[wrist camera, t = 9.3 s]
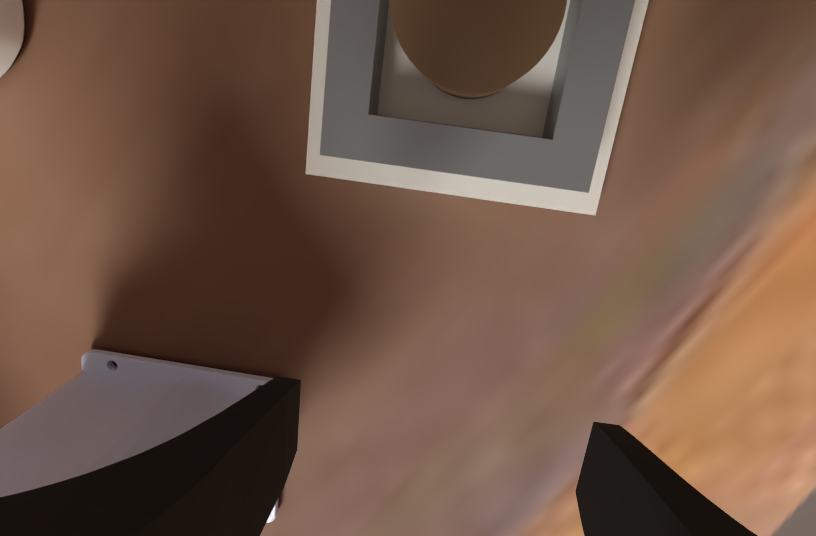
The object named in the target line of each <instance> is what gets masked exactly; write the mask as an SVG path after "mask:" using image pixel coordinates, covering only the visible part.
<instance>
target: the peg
mask: <svg viewBox="0 0 816 536" xmlns="http://www.w3.org/2000/svg"><path fill="white" fill-rule="evenodd" d="M566 5H567V0H390V8H391V18H392V22H393V26H394V30H395V33H396V36H397V39H398V41H399V43H400V45H401V47H402V49H403V51H404V53H405V54H406V55H407V57H408V58H409V60H410V61H411V62H412V63H413V65H414V66H415V67H416V68H417V69H418V70H419V71H420V72H421V73H422V74H423V75H424V76H425V77H427V78H428V79H429V80H430V81H431V82H432V83H433V84H434V85H435V86H436V87H438V88H439V89H440V90H442V91H443V92H445V93H447V94H449V95H451V96H454V97H458V98H463V99H479V98H484V97H488V96H490V95H493V94H495V93H497V92H499V91H501V90H502V89H504V88H506V87H507V86H509V85H510V84H512V83H513V82H515V81H516V80H518V79H519V78H521V77H522V76H523V75H525V74H526V73H528V72H529V71H530V70H531V69H532V68H533V67H534V66H535V65H536V64H538V63H539V61H540V60H541V59H542V58H543V57H544V55H545V54H546V53H547V51H548V50H549V48H550V47H551V45H552V44H553V42H554V40H555V38H556V36H557V34H558V32H559V30H560V27H561V24H562V21H563V18H564V14H565V10H566Z"/></svg>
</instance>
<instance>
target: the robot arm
mask: <svg viewBox="0 0 816 536" xmlns="http://www.w3.org/2000/svg"><path fill="white" fill-rule="evenodd" d="M112 361H114V362H115V363H116V364H117V366H118V367H117V366H115V365H114V364H113V362H112ZM81 362H82V373H80V374H79V375H77V376H76V377H74V378H73V379H71V380H70V381H69V382H67V383H66V384H64V385H63V386H61V387H60V388H58V389H57V390H55V391H54V392H53V393H51V394H50V395H48V396H47V397H45V398H44V399H42V400H41V401H40V402H38V403H37V404H35V405H34V406H32V407H31V408H29V409H28V410H26V411H25V412H24V413H22V414H21V415H19V416H18V417H16V418H15V419H13V420H12V421H11V422H9V423H8V424H6V425H5V426H3V427H2V428H0V536H260V534H261V532H262V530H263V528H264V526H265V524H266V522H272V521H273V520H274V519H275V517H276V515H277V512H278V498H279V496H280V494H281V492H282V490H283V488H284V485H285V482H286V480H287V477H288V474H289V472H290V469H291V466H292V463H293V460H294V457H295V454H296V451H297V441H298V422H299V403H300V384H301V380H297V379H290V378H283V377H275V378H270V377H264V376H257V375H251V374H245V373H239V372H233V371H227V370H220V369H214V368H208V367H202V366H196V365H190V364H183V363H177V362H171V361H165V360H159V359H153V358H147V357H140V356H134V355H128V354H122V353H116V352H110V351H103V350H97V349H91V350H89V351H88V352H86V353H84V354H83V356H82V359H81ZM259 385H262V386H261V387H259ZM576 496H577V501H578V507H579V512H580V517H581V522H582V527H583V531H584V535H585V536H757V535H756V534H754V533H753V532H751V531H750V530H748V529H747V528H745V527H744V526H743V525H741V524H740V523H739V522H737V521H736V520H734V519H733V518H732V517H730V516H729V515H728V514H727V513H725V512H724V511H723V510H721V509H720V508H719V507H718V506H716V505H715V504H714V503H712V502H711V501H710V500H708V499H707V498H706V497H705V496H703V495H702V494H701V493H700V492H698V491H697V490H696V489H695V488H694V487H692V486H691V485H690V484H689V483H687V482H686V481H685V480H684V479H683V478H682V477H680V476H679V475H678V474H677V473H676V472H674V471H673V470H672V469H671V468H670V467H669V466H667V465H666V464H665V463H664V462H663V461H662V460H660V459H659V458H658V457H657V456H656V455H655V454H654V453H652V452H651V451H650V450H649V449H648V448H647V447H645V446H644V445H643V444H642V443H641V442H640V441H638V440H637V439H636V438H635V437H634V436H632V435H631V434H630V433H629V432H628V431H626V430H625V429H624V428H622V427H621V426H619V425H613V424H606V423H599V422H593V426H592V430H591V434H590V438H589V442H588V446H587V449H586V453H585V457H584V461H583V465H582V469H581V473H580V476H579V480H578V484H577V488H576Z"/></svg>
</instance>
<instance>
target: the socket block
mask: <svg viewBox="0 0 816 536" xmlns="http://www.w3.org/2000/svg"><path fill="white" fill-rule="evenodd" d="M648 1H649V0H567V5H566V10H565V14H564V18H563V21H562V24H561V27H560V30H559V32H558V34H557V36H556V38H555V40H554V42H553V44H552V45H551V47H550V48H549V50H548V51H547V53H546V54H545V55H544V57H543V58H542V59H541V60H540V61H539V63H538V64H536V65H535V66H534V67H533V68H532V69H531V70H530V71H529V72H528V73H526V74H525V75H523V76H522V77H521V78H519V79H518V80H516V81H515V82H513V83H512V84H510V85H509V86H507V87H506V88H504V89H502V90H501V91H499V92H497V93H495V94H493V95H490V96H488V97H484V98H479V99H463V98H458V97H454V96H451V95H449V94H447V93H445V92H443V91H442V90H440V89H439V88H438V87H436V86H435V85H434V84H433V83H432V82H431V81H430V80H429V79H428V78H427V77H425V76H424V75H423V74H422V73H421V72H420V71H419V70H418V69H417V68H416V67H415V66H414V65H413V63H412V62H411V61H410V60H409V58H408V57H407V55H406V54H405V53H404V51H403V49H402V47H401V45H400V43H399V41H398V39H397V36H396V33H395V30H394V26H393V22H392V18H391V8H390V0H317V7H316V22H315V37H314V52H313V68H312V83H311V98H310V113H309V129H308V144H307V159H306V174H309V175H316V176H323V177H330V178H337V179H344V180H351V181H358V182H365V183H372V184H379V185H386V186H393V187H400V188H407V189H414V190H421V191H428V192H435V193H442V194H449V195H456V196H463V197H470V198H477V199H484V200H491V201H498V202H505V203H512V204H519V205H526V206H533V207H540V208H547V209H554V210H561V211H568V212H575V213H582V214H589V215H595V214H596V210H597V206H598V202H599V198H600V194H601V190H602V186H603V182H604V178H605V174H606V170H607V166H608V162H609V158H610V154H611V150H612V146H613V142H614V138H615V134H616V130H617V126H618V122H619V118H620V114H621V110H622V106H623V102H624V98H625V94H626V90H627V86H628V82H629V78H630V74H631V70H632V65H633V61H634V57H635V53H636V49H637V45H638V41H639V37H640V33H641V29H642V25H643V21H644V17H645V13H646V9H647V5H648Z"/></svg>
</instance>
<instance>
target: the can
mask: <svg viewBox="0 0 816 536" xmlns="http://www.w3.org/2000/svg"><path fill="white" fill-rule="evenodd" d="M24 35H25V12H24V5H23V0H0V77H1V76H2V75H3V74H4V73H5V72H6V71H7V70H8V69H9V68H10V66H11V65H12V63H13V62H14V60H15V58H16V57H17V55H18V53H19V51H20V49H21V46H22V44H23V40H24Z"/></svg>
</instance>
